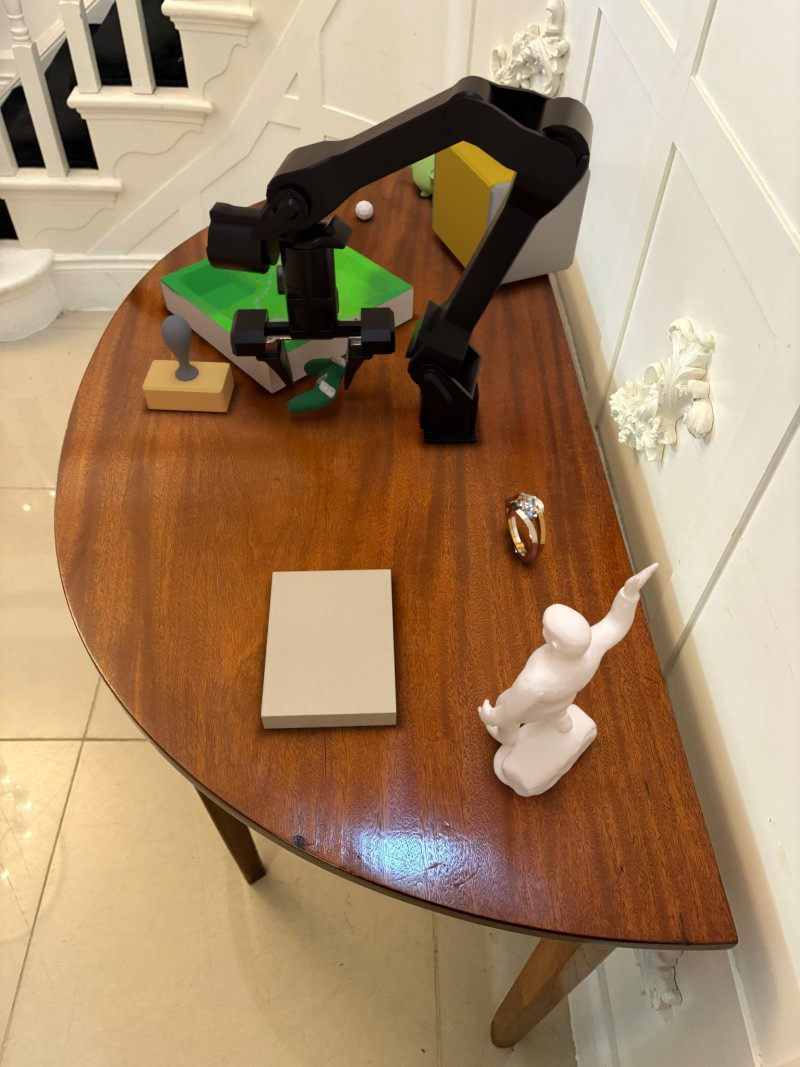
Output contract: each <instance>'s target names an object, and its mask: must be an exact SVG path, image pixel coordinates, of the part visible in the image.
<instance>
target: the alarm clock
mask: <svg viewBox="0 0 800 1067" xmlns="http://www.w3.org/2000/svg"><path fill="white" fill-rule="evenodd" d="M513 175H514V171H513V170H510V169H508V168H506V167H504V166H503V165H501V164H500V163H499V162H497V161H496V160H495V159H493V158H492V157H491V156H489V155H488V154H487V153H485V152H484V151H482V150H481V149H480V148H478V147H477V146H475V145H472V144H470V143H467V142H465V141H462V142H459V143H457V144H455V145H453V146H451V147H449V148H447V149H444V150H442V151H440V152H438V153H436V154H435V159H434V181H433V194H432V202H431V206H432V207H431V228H432V230H433V231H434V232H435V234H436V235H437V236H438V237H439V239H440V240H441V241H442V243H444V244H445V246H446V247H447V248H448V250H450V252H451V253H452V254H453V255H454V256H455V258H456V259H457V260H458V261H459V262H460V264H461V265H462V266H463V267H464V269H465V268H466V266H467V264H468V263H469V261H470V259H471V257H472V255H473V253H474V252H475V250H476V248H477V246H478V244H479V243H480V241H481V239H482V237H483V235H484V233H485V232H486V230H487V228H488V226H489V224H490V223H491V221H492V219H493V217H494V215H495V213H496V212H497V210H498V208H499V206H500V204H501V202H502V201H503V199H504V197H505V195H506V193H507V192H508V190H509V187H510V184H511V181H512V178H513ZM590 178H591V169H590V166H589V167H588V169H587V171H586V174H585V176H584V177H583V179H582V180H581V181H580V182H579V184H578V185H577V186H576V187H575V188H574V189H573V190H572V192H571V193H570V194H569V195H568V196H567V197H566V198H565V199H564V201H563V202H562V203H561V204H560V205H559V206H558V207H557V208H555V209H554V210H553V211H551V212H550V213H549V214H548V215H546V216H545V217H544V218H542V219H541V220H540V221H539V223H538V224H537V225H536V227H535V228H534V230H533V232H532V233H531V235H530V237H529V238H528V240H527V242H526V243H525V245H524V247H523V248H522V250H521V252H520V253H519V255H518V257H517V258H516V260H515V262H514V263H513V265H512V266H511V268H510V270H509V271H508V273H507V275H506V276H505V278H504V280H503V281H502V283H501V285H503V284H504V285H505V284H508V283H512V282H517V281H522V280H526V279H531V278H535V277H540V276H544V275H548V274H552V273H556V272H560V271H565V270H569V269H570V268H571V267H572V266H573V263H574V257H575V253H576V248H577V243H578V238H579V233H580V230H581V224H582V219H583V214H584V209H585V204H586V200H587V199H586V198H587V195H588V194H587V193H588V188H589V183H590Z"/></svg>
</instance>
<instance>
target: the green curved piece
mask: <svg viewBox="0 0 800 1067" xmlns="http://www.w3.org/2000/svg"><path fill="white" fill-rule="evenodd" d="M345 361H346V359H344V357H342V356H341V357H340V356H339V355H337V354H335V353H334V354H333V356H332V357H331V358H318V359H312V360H310V361H308V362H307V363H306V364H305V365H304V371H305V372H306V374H307V376H310V377H312V378H317V379H316V382H315V384H314V386H313V389H311V390H309V391H306V392H304V393H301V394H299V395H296V396H293V397H292V398H291V399H290V400H288V401H287V403H286V405H287V411H288V413H290V414H304V413H311V412H314V411H315V412H316V411H318V410H321V409H323V408H328V407H329V405H330V403H332V402H333V400H334V399H335V397H336V396H337V393H338V390H339V388H340V385H341V383H342V380H343V379H344V371H345Z"/></svg>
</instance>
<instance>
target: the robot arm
mask: <svg viewBox="0 0 800 1067" xmlns="http://www.w3.org/2000/svg"><path fill="white" fill-rule="evenodd" d="M593 135H594V122H593V118H592V114H591V113H590V110H589V109H588V107H587V106H586V105H585V104H583V103H582V102H581V101H580V100H578V99H576V98H572V97H570V96H557V97H554V98H553V97H550V96H548V95H545V94H543V93H541V92H538V91H536V90H533V89H529V88H523V87H518V86H512V85H505V84H499V83H497V82H494V81H492V80H489V79H487V78H485V77H482V76H479V75H468V76H464V77H462V78H460V79H459V80H458V81H457V82H456V83H455V84H454V85H452V86H451V87H449V88H446V89H444V90H443V91H441V92H439V93H436V94H434V95H432V96H430V97H429V98H427V99H425V100H422V101H421V102H419V103H417V104H415V105H413V106H411V107H409V108H407V109H405V110H402V111H400V112H399V113H397V114H395V115H392V116H391V117H389V118H387V119H385V120H383V121H381V122H379V123H377V124H375V125H373V126H371V127H369V128H366V129H365V130H363V131H361V132H359V133H357V134H355V135H354V136H350V137H348V138H344V139H341V140H321V141H317V142H313V143H311V144H307V145H303V146H300V147H296V148H294V149H293V150H292V151H290V152H289V153H288V154H287V155H286V157H285V158H284V159H283V161H282V162H281V164H280V165H279V167H278V168H277V170H276V171H275V173H274V174H273V176H272V177H271V179H270V181H269V182H268V183H267V185H266V190H265V198H266V201H265V202H264V204H263V205H262V207H261V208H257V207H256V208H255V207H250V206H239V205H234V204H231V203H228V202H222V201H216V202H215V203H214V204H213V206H212V207H211V209H210V210H209V211H208V213H209V214H208V215H209V219H210V222H209V225H208V230H207V241H206V242H207V245H206V247H205V252H206V256H207V257H206V258H208V261H209V263H210V265H211V266H212V267H213V268H217V269H225V270H233V271H240V272H248V273H256V274H266V273H267V272H268V270H269V268H270V266H275V265H276V264H277V262H278V260H279V256H281V264H282V265H277V267H276V273H277V291H278V294H279V295H285V298H286V307H287V315H288V321H281V322H269V313H268V310H267V309H238V310H237V311H236V312H235V313H234V315H233V321H232V327H231V333H230V342H231V348H232V353H233V354H234V355H235V356H237V357H249V356H255V358H256V360H257V361H263V362H265V363H266V364H267V365H268V366H269V367H270V368H271V369H272V370H273V371H274V372H275V373H276V374H277V375H278V376H279V377H280V379H281V380H282V381H283V382H284V384H285V385H286V386H285V387H286V388H287V389H288V390H289V392H293V391H294V386H295V385H294V382H293V375H292V371H291V367H290V362H289V358H288V354H287V350H286V346H285V341H288V340H332V339H333V338H348V340H347V351H346V354H345V371H344V375H343V389H344V391H348V390H349V388H350V386H351V384H352V382H353V380H354V377H355V376H356V373H357V372H358V370H359V369H360V367H361V366H362V365H363V363H364V362H365V361H369V360H372V359H373V358H374V356H377V355H378V356H381V355H382V356H383V355H392V354H394V353H395V352H396V327H395V320H394V312H393V311H392V310H391V309H390V308H389V307H375V308H361V316H353V317H351V318H350V319H339V320H338V313H339V296H338V289H337V286H336V275H335V259H334V249H341V250H342V249H344V248H345V247H346V246H348V243H349V240H350V238H351V236H352V235H353V233H354V230H353V228H352V227H351V226H350V225H349V224H347V222H345V221H343V220H342V219H341V218H340V217H339V215H338V214H336V213H335V214H333V212H335V211H336V210H338V208H339V207H340V206H341V205H342V204H344V202H346V201H347V200H348V199H349V198H350V197H351V196H352V195H353V194H355V193H356V192H358V191H359V190H360V189H362V188H364V187H366V186H369V185H370V184H373V183H375V182H377V181H379V180H382V179H383V178H386V177H388V176H390V175H393V174H394V173H397V172H399V171H401V170H403V169H406V168H407V167H408V168H409V166H410V165H412V164H414V163H416V162H418V161H421V160H423V159H425V158H427V157H429V156H431V155H434V154H436V153H438V152H440V151H442V150H444V149H447V148H449V147H451V146H453V145H455V144H457V143H459V142H462V141H465V142H467V143H470V144H472V145H475V146H477V147H478V148H480V149H481V150H482V151H484V152H485V153H487V154H488V155H489V156H491V157H492V158H493V159H495V160H496V161H497V162H499V163H500V164H501V165H503V166H504V167H506V168H508V169H510V170H513V171H514V175H513V178H512V181H511V184H510V187H509V190H508V192H507V193H506V195H505V197H504V199H503V201H502V202H501V204H500V206H499V208H498V210H497V212H496V213H495V215H494V217H493V219H492V221H491V223H490V224H489V226H488V228H487V230H486V232H485V233H484V235H483V237H482V239H481V241H480V243H479V244H478V246H477V248H476V250H475V252H474V253H473V255H472V257H471V259H470V261H469V263H468V264H467V266H466V268H465V267H464V270H463V272H462V273H461V275H460V277H459V280H457V282H456V284H455V286H454V289H453V290H452V292H451V293H450V295H449V297H448V298H447V299H446V300H445V301H443V302H442V303H441V304H440V305H438V304H437V303H435V302H434V301H433V300H431V299H428V301H427V305H426V308H425V310H424V313H423V315H422V317H421V318H420V319H419V320H417V321H416V322H415V325H414V328H413V331H412V334H411V337H410V340H409V343H408V346H407V349H406V352H405V355H404V358H405V359H409V360H408V363H407V366H406V372H407V374H408V375H409V377H410V379H411V380H412V381H413V383H415V384H416V385H417V386H418V388H419V393H418V394H419V395H418V425H419V429H420V430H421V431H422V432H423V433H422V434H423V441H424V443H425V444H427V445H428V444H474V443H476V442H478V434H477V426H476V424H477V416H478V410H479V400H480V390H479V385H478V378H479V373H480V369H481V365H482V360H483V354H482V353H480V351H479V350H478V349H477V348H476V347H475V346H474V345H473V344H472V343H471V342H470V341H471V338H472V335H473V332H474V330H475V328H476V326H477V324H478V323H479V321H480V319H481V318H482V316H483V314H484V313H485V311H486V309H487V308H488V306H489V305H490V303H491V301H492V299H493V298H494V297H495V295H496V293H497V291H498V290H499V288H500V286H501V285H502V284H501V283H502V281H503V280H504V278H505V276H506V275H507V273H508V271H509V270H510V268H511V266H512V265H513V263H514V262H515V260H516V258H517V257H518V255H519V253H520V252H521V250H522V248H523V247H524V245H525V243H526V242H527V240H528V238H529V237H530V235H531V233H532V232H533V230H534V228H535V227H536V225H537V224H538V223H539V221H540V220H541V219H542V218H544V217H545V216H546V215H548V214H549V213H550V212H551V211H553V210H554V209H555V208H557V207H558V206H559V205H560V204H561V203H562V202H563V201H564V199H565V198H566V197H567V196H568V195H569V194H570V193H571V192H572V190H573V189H574V188H575V187H576V186H577V185H578V184H579V182H580V181H581V180H582V179H583V177H584V176H585V174H586V171H587V169H588V167H589V168H590V160H591V153H592V145H593V144H592V143H593ZM331 214H332V216H331V217H330V218H329V219H326V218H327V217H328V216H330V215H331Z"/></svg>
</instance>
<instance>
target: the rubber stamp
mask: <svg viewBox="0 0 800 1067" xmlns="http://www.w3.org/2000/svg"><path fill="white" fill-rule="evenodd" d="M161 336H162V340H163V342H164V343H165V345H166V347H167V348H168V350H170V351H171V353H172V354H173V356H174V357H175V359H176V360H170V359H169V360H167V359H154V360H152V362H151V364H150V367H149V368H148V372H147V374H146V377H145V379H144V382H143V384H142V387H141V388H142V391H143V395H144V399H145V401H146V405H147V407H148V410H164V411H165V410H166V411H185V412H186V411H187V412H209V413H210V412H211V413H213V412H214V413H227V412H228V408H229V406H230V401H231V399H232V395H233V391H234V388H235V381H234V376H233V372H232V366H231V364H230V363H228V362H214V361H195V360H194V361H191V360H190V358H189V357H190V351H191V346H192V341H193V336H192V329H191V327H190V325H189V323H188V322H187V321H186V320H185V319H184V318H183V317H181V316H178V315H174V314H172V315H169V316H167V317H165V319H164V320H163V321H162V323H161Z"/></svg>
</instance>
